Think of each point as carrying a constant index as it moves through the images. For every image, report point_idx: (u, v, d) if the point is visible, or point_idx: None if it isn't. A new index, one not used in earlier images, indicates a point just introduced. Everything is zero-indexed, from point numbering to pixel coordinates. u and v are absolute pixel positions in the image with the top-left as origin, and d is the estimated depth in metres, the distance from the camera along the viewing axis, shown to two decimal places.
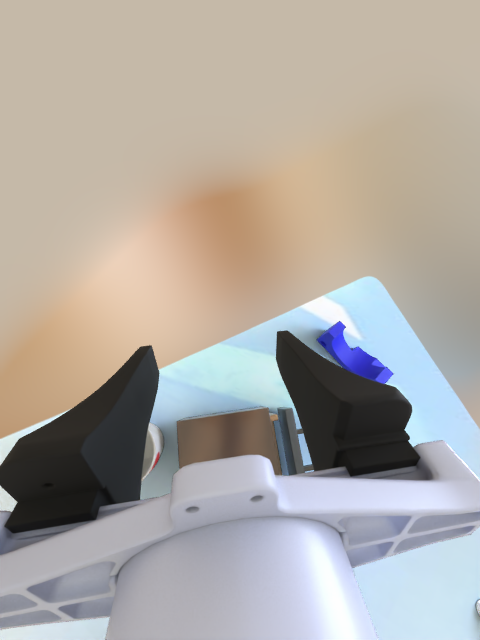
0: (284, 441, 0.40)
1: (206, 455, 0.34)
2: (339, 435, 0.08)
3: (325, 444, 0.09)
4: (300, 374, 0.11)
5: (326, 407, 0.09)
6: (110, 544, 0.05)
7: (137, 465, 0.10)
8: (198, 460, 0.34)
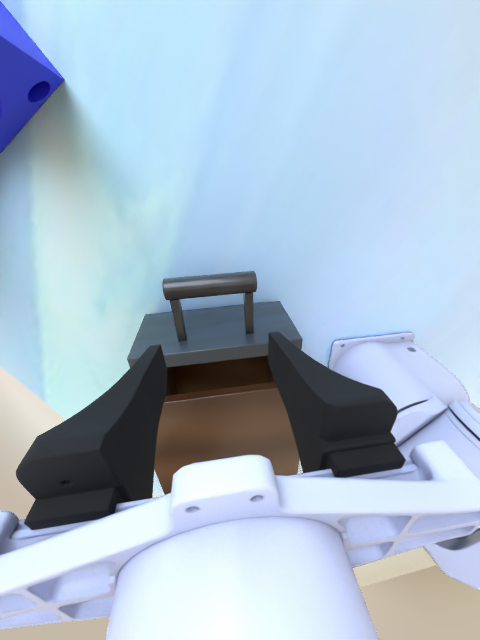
0: None
1: None
2: (325, 437, 0.08)
3: (312, 446, 0.09)
4: (290, 375, 0.11)
5: (312, 409, 0.09)
6: (110, 544, 0.05)
7: (149, 463, 0.10)
8: None
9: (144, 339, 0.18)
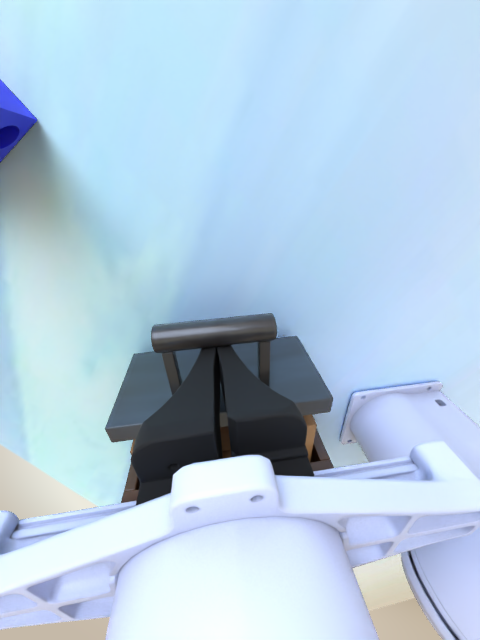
0: None
1: None
2: (236, 451, 0.08)
3: None
4: None
5: None
6: (110, 544, 0.05)
7: (221, 452, 0.11)
8: None
9: (130, 394, 0.14)
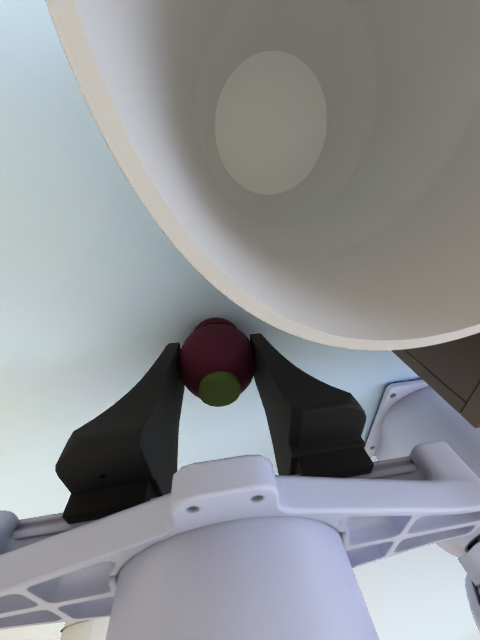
0: None
1: None
2: (294, 442, 0.08)
3: (284, 450, 0.09)
4: (266, 378, 0.11)
5: (283, 413, 0.09)
6: (110, 544, 0.05)
7: (174, 460, 0.10)
8: None
9: None
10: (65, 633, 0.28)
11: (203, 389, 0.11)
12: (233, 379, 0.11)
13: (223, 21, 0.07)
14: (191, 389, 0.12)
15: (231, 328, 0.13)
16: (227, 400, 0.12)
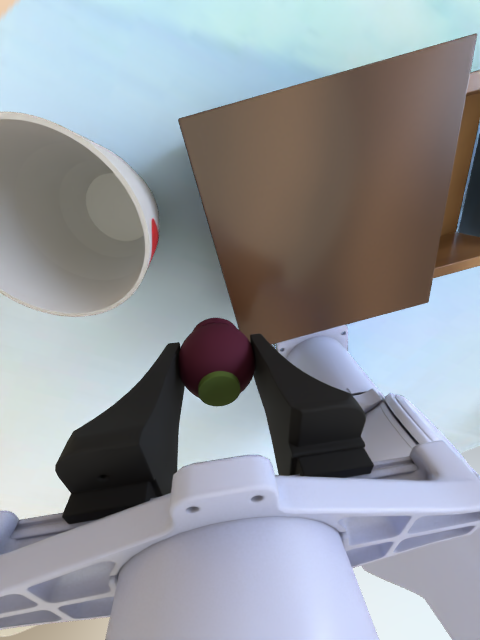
0: None
1: (277, 212, 0.13)
2: (294, 442, 0.08)
3: (284, 450, 0.09)
4: (266, 378, 0.11)
5: (283, 413, 0.09)
6: (110, 544, 0.05)
7: (174, 460, 0.10)
8: (259, 227, 0.13)
9: None
10: None
11: (202, 389, 0.11)
12: (233, 379, 0.11)
13: (61, 184, 0.16)
14: (191, 389, 0.12)
15: (230, 328, 0.13)
16: (227, 400, 0.12)
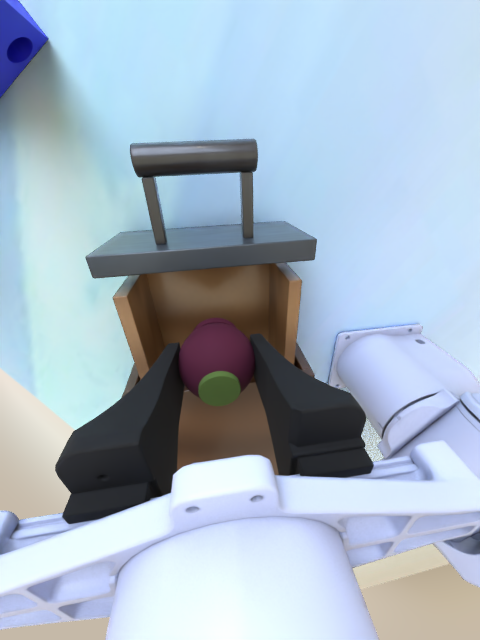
0: None
1: None
2: (294, 442, 0.08)
3: (284, 450, 0.09)
4: (266, 378, 0.11)
5: (283, 413, 0.09)
6: (110, 544, 0.05)
7: (174, 459, 0.10)
8: None
9: (113, 244, 0.14)
10: None
11: (203, 389, 0.11)
12: (233, 379, 0.11)
13: None
14: (191, 389, 0.12)
15: (231, 328, 0.13)
16: (227, 400, 0.12)
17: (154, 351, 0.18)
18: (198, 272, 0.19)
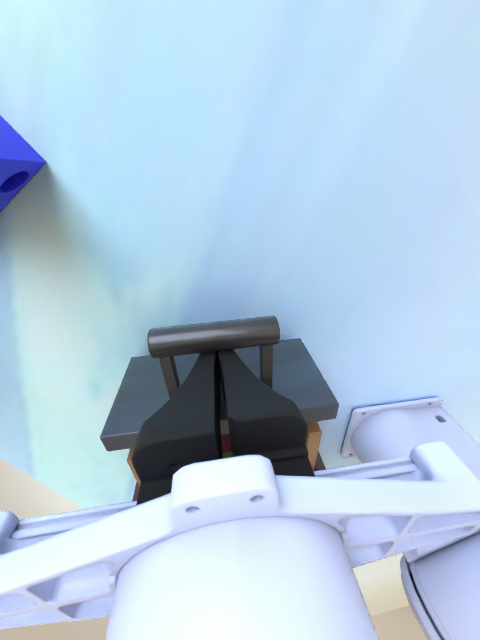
0: None
1: None
2: (237, 450, 0.08)
3: None
4: None
5: None
6: (110, 544, 0.05)
7: None
8: None
9: (126, 400, 0.14)
10: None
11: None
12: None
13: None
14: None
15: None
16: None
17: None
18: None
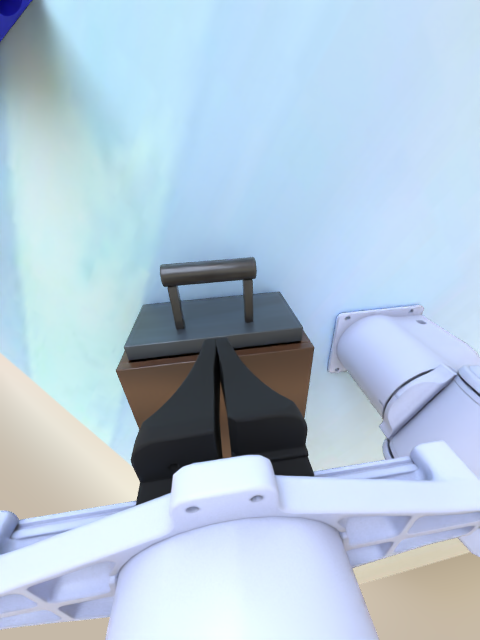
0: None
1: None
2: (236, 451, 0.08)
3: None
4: None
5: None
6: (110, 544, 0.05)
7: (221, 452, 0.11)
8: None
9: (141, 327, 0.18)
10: None
11: None
12: None
13: None
14: None
15: None
16: None
17: None
18: None
